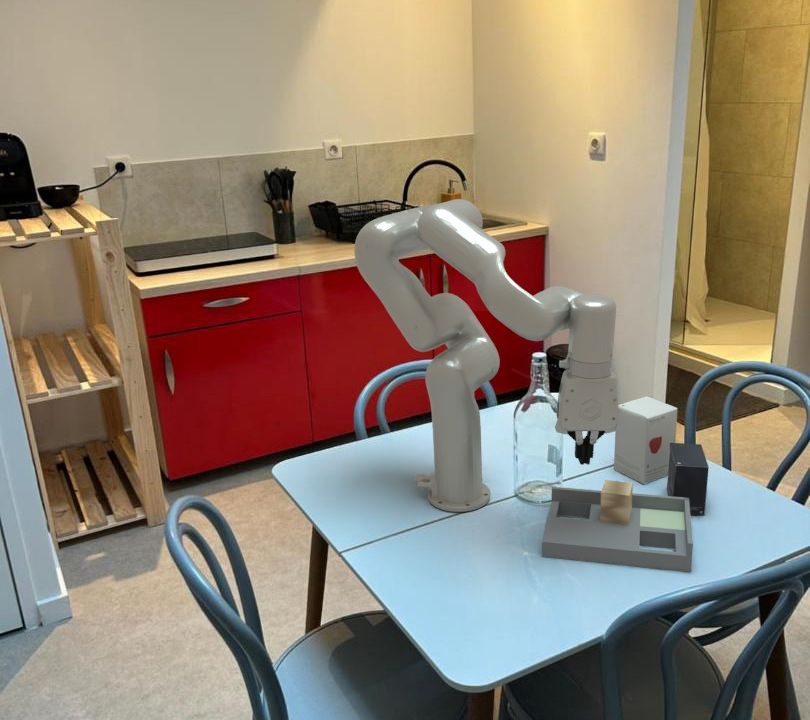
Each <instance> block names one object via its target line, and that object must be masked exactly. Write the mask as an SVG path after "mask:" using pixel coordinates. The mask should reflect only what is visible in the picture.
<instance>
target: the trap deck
mask: <svg viewBox="0 0 810 720" xmlns="http://www.w3.org/2000/svg"><path fill="white" fill-rule="evenodd" d="M601 491H602V490H596V489H595V490H594V489H583V488H572V487H570V488H569V487H558V486H551V502H550V504H549V506H550V507H549V509H548V515H547V518H546V523H545V526H544V527H545V528H544V531H543V536H542V539H541V557H543V558H544V557H545V558H551V559H553V558H554V559H563V560H570V559H571V561H572V560H573V561H580V560H581V562H582V561H583V562H590V563H591V562H592V563H598V564H599V563H601V564H608V565H609V564H610V565H618V566H619V565H620V566H629V567H639V568H649V569H658V570H659V569H660V570H667V571H668V570H669V571H675V572H676V571H677V572H678V571H679V572H685V573H686V572H687V573H692V561H693V548H694V547H693V546H694V539H693V530H692V529H693V528H692V517H691V516H692V515H690V504H689V498H685V497H673V496H668V495H659V494H658V495H657V494H647V493H636V492H635V493H634V492H632V513H631V517H630V521H629V525H622V524H615V523H607V522H600V515H601ZM560 516H562V517H560ZM563 516H564V517H563ZM571 517H573V518H571ZM574 517H575V518H574ZM576 517H577V518H576ZM580 518H583V519H580ZM584 518H585V519H584ZM586 518H588V519H586ZM640 546H643V547H644V546H647V547H656V548H667V549H674V551H669V550H661V549H660V550H659V549H650V548H649V549H648V548H641V547H640Z"/></svg>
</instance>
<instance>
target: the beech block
mask: <svg viewBox="0 0 810 720" xmlns="http://www.w3.org/2000/svg"><path fill="white" fill-rule="evenodd" d="M633 489H634V483H633V482H628V481H619V480H611V479H609V480H608V479H604V482H603V485H602V489H601V490H600V491H601V515H600V522H607V523H615V524H622V525H629V521H630V517H631V513H632V493H633Z"/></svg>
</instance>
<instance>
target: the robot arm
mask: <svg viewBox="0 0 810 720" xmlns="http://www.w3.org/2000/svg"><path fill="white" fill-rule="evenodd" d="M483 222H484V221H483V215H482V214H481V212H480V209H479V207H477V206H476V205H475V204H474V203H472V202H471V201H470V200H467V199H463V198H462V199H461V198H455V199H452V200H448V201H445V202H439V203H435V204H431V205H430V204H429V205H425V206H420V207H419V206H418V207H414V208H413V207H412V208H410V209H406V210H401V211H399V212H395V213H392V214H391V213H390V214H387V215H383V216H380V217H377V218H375V219H373V220H371V221H368V223H366V224H365V225H364V226H363V227H362V228H361V229H360V231H359V232H358V234H357V236H356V239H355V243H354V258H355V259H354V260H355V264H356V267H357V270H358V272H359V273H360V275H361V277H362V278H363V280H364V281H365V282H366V283H367V285H368V286H369V288H370V289H371V290H372V291H373V292H374V294H375V295H376V296H377V298H378V299H379V300H380V302H381V303H382V305H383V306H384V308H385V310H386V311H387V313H388V314H389V316H390V317H391V319H392V321H393V322H394V324H395V325H396V326H397V328H398V330H399V331H400V332H401V334H402V336H403V337H404V339H405V341H406V342H407V343H408V345H409V346H411V348H412V349H413V350H416V351H418V352H421V353H424V352H431V351H432V350H434V349H437V348H439V347H441V346H443V345H445V346H446V347H447V349H445V350H444V351H442V352H440V353H438V355H436V356H434V358H433V359H432V360H431V361H430V363H429V364H428V366H427V368H426V371H425V385H426V389H427V393H428V397H429V402H430V409H431V410H430V411H431V422H432V425H431V426H432V439H433V441H432V442H433V443H432V444H433V461H434V466H433V467H434V473H431V474H424V473H416V474H415V478H414V480H415V484H417V487H418V489H428V495H427V497H428V501H429V502H430V504H431V505H432V506H433V507H435V508H437V509H439V510H441V511H447V512H454V513H463V512H465V513H466V512H470V511H471V512H472V511H474V510H477V509H480V508H482V507H484V506H485V505H486V504H488V502H489V501H490V499H491V489H490V488H489V486H487V485H486V484H485V483H483V467H482V466H483V463H482V458H483V457H482V456H483V455H482V426H481V413H480V409H479V405H478V403H477V401H476V398H475V391H477V390H478V389H479V388H480V387H482V386H484V385H485V384H486V383H487V382H489V381H491V380H492V379H493V378H494V377H495V376H496V375H497V373H498V371H499V368H500V356H499V352H498V350H497V348H496V346H495V343H494V342H493V341H492V339H491V337H490V336H489V335H488V333H487V332H486V330H485V329H484V327H483V325H482V324H481V323H480V321H479V320H478V318H477V316H476V315H475V313H474V312H473V311H472V309H471V307H470V306H469V305H468V304H467V303H466V302H465V301H464V300H463V299H462V298H460V297H459V296H458V295H455V294H454V293H448V292H443V293H438V294H435V295H433V296H431V295H430V294H429V293H428V291H427V290H426V288H425V287H424V286H423V284H422V282H421V281H420V279H419V278H418V277H417V275H416V274H414V272H412V270H410V269H409V268H407V267H406V266H404V265H403V264H402V263H401V262H400V261H399V259H400V258H402V257H406V256H409V255H412V254H415V253H418V252H421V251H425V250H428V249H429V250H430V251H431V252H433V253H434V254H435V255H437V256H438V257H439V258H440V259H442V260H443V261H444V262H446V263H447V264H449V265H450V267H452V268H454V269H455V270H457V271H458V272H459V273H460V274H462V275H463V276H464V277H466V278H467V279H468V280H469V281H471V282H472V283H473V284H474V285H475V288H476V291H477V293H478V295H479V297H480V299H481V301H482V302H483V304H484V306H485V308H486V309H487V310H488V311H489V313H490V314H491V315H492V316H493V317H494V318H496V320H498V321H499V322H500V323H502V324H503V325H504V326H505V327H507V328H508V329H510V331H512V332H514V333H515V334H517V335H518V336H519V337H522V338H524V339H525V340H527V341H528V340H529V341H533V342H540V341H546V340H547V339H549V338H551V337H553V336H554V335H556V334H558V333H559V332H560V331H564V330H567V329H568V331H569V332H568V349H567V350H568V351H567V352H568V353H567V354H566V357H565V359H563V360H558V361H559V362H558V366H559V368H560V369H561V368H562V369H565V370H564V371H563V373H562V377H561V381H560V384H559V388H558V389H559V391H558V395H557V403H556V418H557V420H556V422H555V426H554V430H555V432H556V433H558V434H562V435H567V436H569V437H570V438H571V439H573V441H574V442H575V443H574V444H575V445H574V457H575V459H578V462H579V464H580V465H590V464H591V463H590V462H591V459H593V458H594V448H595V445H596V443H597V441H598V440H599V439H600V438H602V437H603V435H605V434H611V433H614V432H615V431H616V426H617V423H618V405H619V390H618V389H619V388H618V377H617V375H616V373H615V372H614V371H613V355H614V344H615V343H614V340H615V332H616V331H615V329H616V328H615V327H616V316H617V315H616V314H617V305H616V302H615V301H614V299H613V298H611V297H610V296H608V295H604V294H597V293H584V292H581V291H578V290H575V289H574V288H569V287H567V286H562V285H554V286H550V287H548V288H546V289H544V290H542V291H539V292H538V293H536V294H534V295H532V294H531V293H529V292H528V291H526V289H523V288H522V287H521V286H520V285H519V284H517V283H516V282H515V281H514V280H513V279H512V278H511V277H510V276H509V274H508V273H507V272H506V269H505V265H504V261H505V257H506V249H505V246H504V245H503V243H501V242H500V241H499V240H497V239H495V238H494V237H492V236H491V234H488V232H486V231H484V230H483V224H484V223H483ZM583 432H586V435H585V436H583Z"/></svg>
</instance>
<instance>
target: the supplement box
mask: <svg viewBox="0 0 810 720" xmlns="http://www.w3.org/2000/svg"><path fill="white" fill-rule="evenodd" d="M677 422H678V407H675V406H673V405H671V404H668V403H665V402H662V401H660V400H658V399H656V398H652V397H649V396H648V395H646V396H643V397H640V398H637V399H632V400H630V401H627V402H624V403H620V404H618V423H617V426H616V431H615V433H614V455H613V470H615V471H616V472H619V473H621V474H623V475H625V476H627V477H629V478H630V479H633V480H634V481H637V482H639V483H640V484H642V485H645V484H649V483H651V482H654V481H656V480H660V479H661V478H664V477H668V469H669V455H670V443H676V440H677V439H676V437H677V424H678V423H677Z"/></svg>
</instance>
